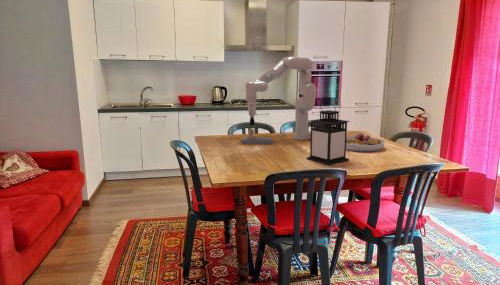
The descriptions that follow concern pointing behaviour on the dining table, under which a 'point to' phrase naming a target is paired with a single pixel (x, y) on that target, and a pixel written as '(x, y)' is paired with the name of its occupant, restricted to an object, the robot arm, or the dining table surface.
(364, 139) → the bowl
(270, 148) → the dining table surface
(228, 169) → the dining table surface
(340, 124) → the lantern
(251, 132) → the peg
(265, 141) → the board
